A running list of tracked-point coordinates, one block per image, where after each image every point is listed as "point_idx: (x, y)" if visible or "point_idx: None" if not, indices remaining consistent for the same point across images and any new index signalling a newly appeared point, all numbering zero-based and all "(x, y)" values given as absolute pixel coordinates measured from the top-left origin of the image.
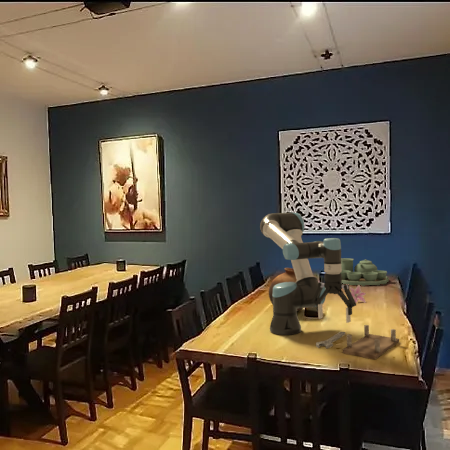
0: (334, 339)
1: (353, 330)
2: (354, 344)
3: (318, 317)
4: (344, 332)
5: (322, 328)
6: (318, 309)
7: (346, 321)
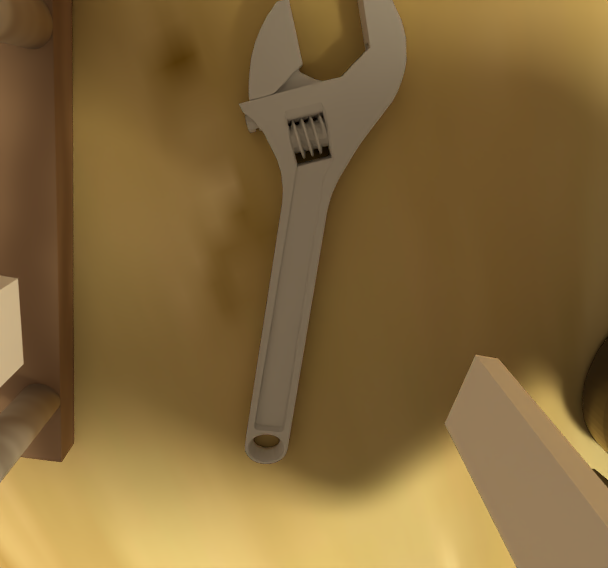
0: (272, 265)
1: (224, 528)
2: (21, 134)
3: (505, 369)
4: (253, 454)
5: (432, 502)
6: (588, 475)
7: (1, 284)
